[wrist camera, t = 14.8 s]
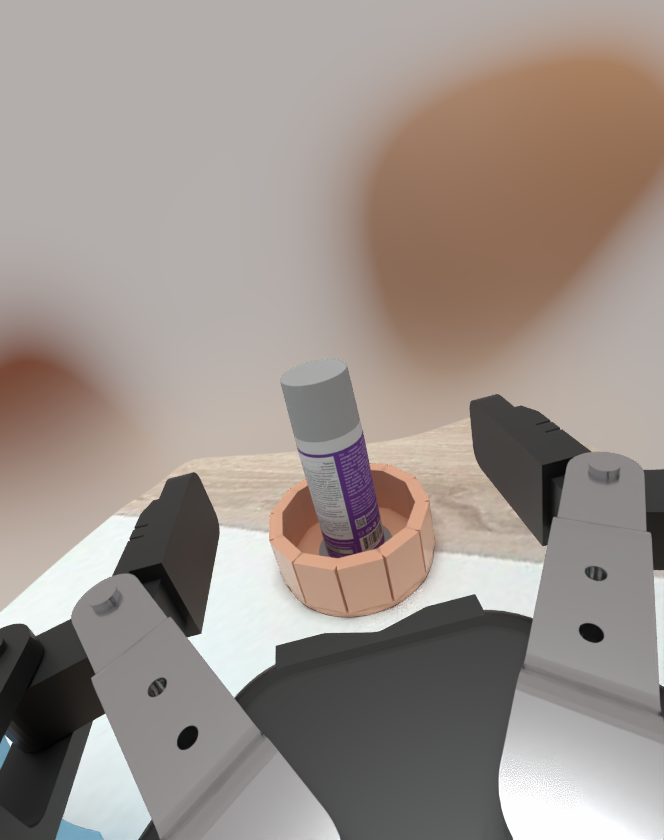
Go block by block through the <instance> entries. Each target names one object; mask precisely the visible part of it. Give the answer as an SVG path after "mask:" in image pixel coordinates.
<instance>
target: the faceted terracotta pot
mask: <svg viewBox="0 0 664 840" xmlns="http://www.w3.org/2000/svg"><path fill="white" fill-rule="evenodd" d="M369 464H370V469H371V474H372V479H373V484H374V488H375V493H376V498H377V503H378V508H379V513H380V518H381V523H382V528H383V533H384V538H385V543H384V544H383V545H381V546H380V547H379V548H377V549H373V550H369V551H365V552H361V553H357V554H353V555H349V556H345V557H341V558H332V557H329V555H328V552H327V549H326V546H325V542H324V539H323V535H322V532H321V528H320V525H319V521H318V518H317V514H316V511H315V508H314V504H313V501H312V497H311V494H310V490H309V487H308V483H307V480H306V479H305V480H303V481H301V482H300V483H298V484H296V485H295V486H293V487H291V488H290V490H288V491H287V492H286V493H285V495H284V496H283V497H282V498H281V500H280V501H279V502H278V504H277V505H276V506H275V508H274V509H273V510H272V512H271V514H270V529H269V541H270V543H271V546H272V549H273V552H274V554H275V557H276V560H277V563H278V566H279V568H280V571H281V574H282V577H283V579H284V581H285V583H286V584H287V585H288V586H289V588H290V589H291V591H292V593H293V594H294V595H295V597H296V598H297V599H298V600H299V601H301V602H302V603H303V604H304V605H306V606H307V607H309V608H311V609H313V610H315V611H317V612H320V613H323V614H327V615H332V616H338V617H356V616H364V615H369V614H374V613H377V612H380V611H383V610H386V609H388V608H390V607H392V606H395V605H396V604H398V603H400V602H401V601H403V600H404V599H406V598H407V597H408V596H410V595H411V594H412V593H413V592H414V591H415V590H416V589H417V588H418V587H419V586H420V585H421V584H422V582H423V581H424V580H425V578H426V576H427V574H428V573H429V570H430V568H431V565H432V561H433V549H434V545H435V538H434V531H433V524H432V517H431V510H430V503H429V499H428V497H427V495H426V493H425V492H424V490H423V488H422V486H421V484H420V482H419V481H418V479H417V478H416V477H415V476H413V475H411V474H409V473H407V472H405V471H402V470H400V469H398V468H396V467H394V466H392V465H388V464H376V463H369Z"/></svg>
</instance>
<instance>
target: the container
mask: <svg viewBox="0 0 664 840" xmlns="http://www.w3.org/2000/svg"><path fill="white" fill-rule="evenodd" d="M280 382H281V386H282V390H283V394H284V398H285V402H286V406H287V410H288V414H289V418H290V421H291V425H292V429H293V433H294V437H295V441H296V445H297V449H298V452H299V456H300V459H301V463H302V466H303V470H304V473H305V476H306V480H307V483H308V487H309V490H310V494H311V497H312V501H313V504H314V508H315V511H316V514H317V518H318V521H319V525H320V528H321V532H322V535H323V539H324V542H325V546H326V549H327V552H328V555H329V557H332V558H341V557H345V556H349V555H353V554H357V553H361V552H365V551H369V550H373V549H377V548H379V547H380V546H381V545H383V544H384V543H385V538H384V533H383V528H382V523H381V518H380V513H379V508H378V503H377V498H376V493H375V488H374V484H373V479H372V474H371V469H370V464H369V459H368V454H367V449H366V444H365V440H364V435H363V430H362V426H361V422H360V418H359V414H358V410H357V405H356V401H355V397H354V392H353V388H352V384H351V380H350V376H349V371H348V367H347V364H346V362H344V361H342V360H339V359H322V360H316V361H311V362H307V363H304V364H301V365H298V366H296V367H294V368H292V369H290V370H288V371H287V372H285V373H284V374H283V375H282V376H281V378H280Z"/></svg>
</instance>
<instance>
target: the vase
mask: <svg viewBox="0 0 664 840" xmlns="http://www.w3.org/2000/svg"><path fill="white" fill-rule="evenodd" d="M9 749H10V746H9V744H8V742H7V740H6V737H5V735H4V737H3V739H2V741H1V743H0V769H1V767H2V765H3V763H4V760H5V758H6V756H7V754H8V752H9ZM55 840H103V838H102V836H101V834H100V832H98V831H93V830H89V829H85V828H82V827H79V826H76V825H73V824H71V823H69V822H67V821H65V820H63V819H62V820H61V824H60V827H59V830H58V833H57V836H56V839H55Z"/></svg>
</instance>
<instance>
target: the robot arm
mask: <svg viewBox="0 0 664 840" xmlns="http://www.w3.org/2000/svg"><path fill="white" fill-rule="evenodd" d="M470 418H471V429H472V439H473V449H474V454H475V457H476V460H477V462H478V464H479V466H480V468H481V469H482V471H483V472H484V473H485V474H486V476H487V477H488V478H489V479H490V481H491V482H492V483H493V484H494V486H495V487H496V488H497V489H498V491H499V492H500V493H501V494H502V496H503V497H504V498H505V499H506V501H507V502H508V503H509V504H510V506H511V507H512V508H513V510H514V511H515V512H516V513H517V515H518V516H519V517H520V518H521V520H522V521H523V522H524V523H525V525H526V526H527V527H528V528H529V530H530V531H531V532H532V533H533V535H534V536H535V537H536V538H537V540H538V541H539V542H540V543H541V545H542V546H546V545H547V550H546V555H545V561H544V566H543V571H542V576H541V581H540V586H539V591H538V596H537V601H536V606H535V611H534V617H533V618H530V617H527V616H523V615H520V614H516V613H511V612H506V611H497V610H483V608H482V606H481V604H480V603H479V601H478V599H477V597H476V595H475V594H474V595H470V596H466V597H462V598H458V599H455V600H451V601H447V602H443V603H439V604H435V605H431V606H428V607H425V608H423V609H421V610H419V611H417V612H416V613H414V614H412V615H410V616H408V617H406V618H404V619H402V620H401V621H399V622H397V623H395V624H393V625H391V626H389V627H387V628H386V629H384V630H381V631H379V632H370V633H324V634H320V635H316V636H312V637H308V638H304V639H301V640H297V641H293V642H289V643H285V644H281V645H278V646H276V664H275V665H273V666H271V667H269V668H268V669H266V670H265V671H264V672H262V673H261V674H259V675H258V676H256V677H255V678H254V679H253V680H252V681H250V682H249V683H248V684H247V685H246V686H245V687H244V688H243V689H242V690H241V691H240V692H239V693H238V694H237V695H236V696H235V698H234V697H233V696H232V695H231V693H230V692H229V691H228V690H227V688H226V687H225V686H224V685H223V683H222V682H221V681H220V679H219V678H218V677H217V676H216V674H215V673H214V672H213V670H212V669H211V668H210V667H209V665H208V664H207V663H206V662H205V660H204V659H203V658H202V656H201V655H200V654H199V653H198V651H197V650H196V649H195V647H194V646H193V645H192V644H191V642H190V641H189V640H188V638H187V637H190V636H194V635H198V634H201V632H202V627H203V621H204V616H205V610H206V605H207V600H208V594H209V589H210V583H211V578H212V572H213V567H214V562H215V556H216V551H217V545H218V540H219V523H218V519H217V516H216V513H215V511H214V509H213V506H212V504H211V502H210V500H209V497H208V495H207V493H206V491H205V489H204V486H203V484H202V482H201V480H200V478H199V476H198V475H197V474H196V473H195V472H193V473H189V474H185V475H182V476H178V477H174V478H170V479H168V480H167V481H166V484H165V486H164V488H163V491H162V493H161V495H160V498H159V499H157V500H153V501H152V502H151V504H150V505H149V506H148V507H147V508H146V509H145V510H144V511H143V512H142V513H141V515H140V517H139V519H138V521H137V523H136V525H135V530H133V532H132V534H131V536H130V538H129V539H130V541H128V543H127V545H126V547H125V549H124V552H123V554H122V556H121V558H120V560H119V562H118V565H117V567H116V569H115V571H114V573H113V575H112V577H109V578H107V579H105V580H103V581H101V582H100V583H98V584H96V585H95V586H94V587H92V588H91V589H90V590H89V591H87V592H86V593H85V594H84V595H83V596H82V597H81V599H80V600H79V601H78V602H77V604H76V606H75V607H74V609H73V612H72V615H71V619H70V620H68V621H66V622H64V623H62V624H60V625H58V626H56V627H54V628H52V629H50V630H48V631H46V632H44V633H42V634H40V635H38V636H35V635H34V634H33V632H32V631H31V630H30V629H29V628H28V627H27V625H24V624H13V625H9V626H6V627H3V628H1V629H0V743H1V741H2V739H3V737H4V735H6V736H7V737H8V738H9V739H10V740H11V741H12V742H13V743H12V745H11V747H10V749H9V752H8V754H7V756H6V758H5V760H4V763H3V765H2V767H1V769H0V840H55V839H56V836H57V833H58V830H59V827H60V824H61V820H62V817H63V814H64V811H65V808H66V805H67V801H68V798H69V795H70V792H71V789H72V786H73V782H74V779H75V776H76V773H77V770H78V767H79V763H80V760H81V757H82V754H83V751H84V748H85V744H86V741H87V738H88V735H89V732H90V728H91V725H92V722H93V720H95V719H96V718H98V717H100V716H102V715H103V714H105V713H106V715H107V718H108V720H109V722H110V724H111V727H112V729H113V731H114V734H115V736H116V738H117V740H118V743H119V745H120V747H121V750H122V752H123V754H124V756H125V759H126V761H127V763H128V766H129V768H130V770H131V772H132V775H133V777H134V779H135V782H136V784H137V786H138V788H139V791H140V793H141V795H142V798H143V800H144V802H145V804H146V807H147V809H148V811H149V814H150V816H151V818H152V820H151V821H150V823H149V824H148V826H147V827H146V829H145V830H144V832H143V833H142V835H141V836H140V838H139V839H138V840H664V687H663V686H661V685H659V674H658V654H657V634H656V614H655V595H654V575H653V570H664V469H663V470H643V469H642V467H641V466H640V465H639V464H638V463H636V462H635V461H634V460H632V459H630V458H628V457H625V456H622V455H619V454H615V453H609V452H591V451H590V450H588V449H587V448H586V447H585V446H583V445H582V444H581V443H579V442H578V441H577V440H575V439H574V438H573V437H571V436H570V435H569V434H567V433H566V432H565V431H563V430H560V428H559V427H558V426H557V425H555V424H554V423H553V422H550V420H549V419H548V418H546V417H545V416H544V415H542V414H541V413H540V412H538V411H536V410H533V409H530V408H526V407H524V406H518V407H514V406H512V405H511V404H510V403H509V402H508V401H506V400H505V399H504V398H503V397H502V396H500V395H498V394H496V395H492V396H488V397H484V398H480V399H477V400H473V401H471V403H470Z"/></svg>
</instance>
